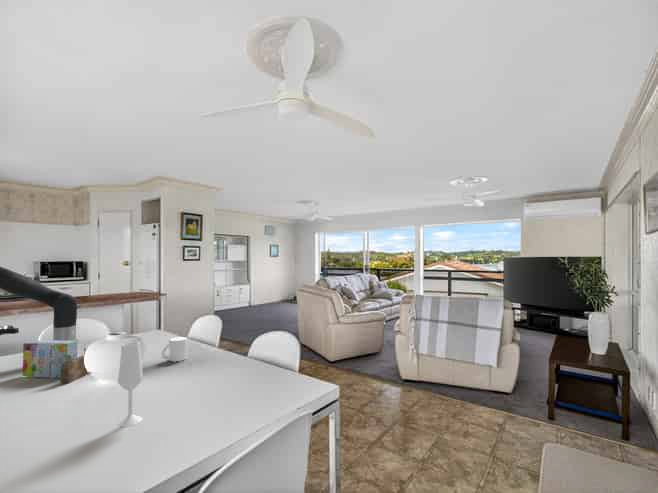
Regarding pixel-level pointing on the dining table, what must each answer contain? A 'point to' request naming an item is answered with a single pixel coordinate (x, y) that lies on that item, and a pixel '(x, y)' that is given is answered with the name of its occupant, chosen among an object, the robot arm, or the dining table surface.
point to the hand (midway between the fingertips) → (16, 330)
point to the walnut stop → (73, 369)
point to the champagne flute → (130, 378)
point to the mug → (176, 349)
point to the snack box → (46, 357)
